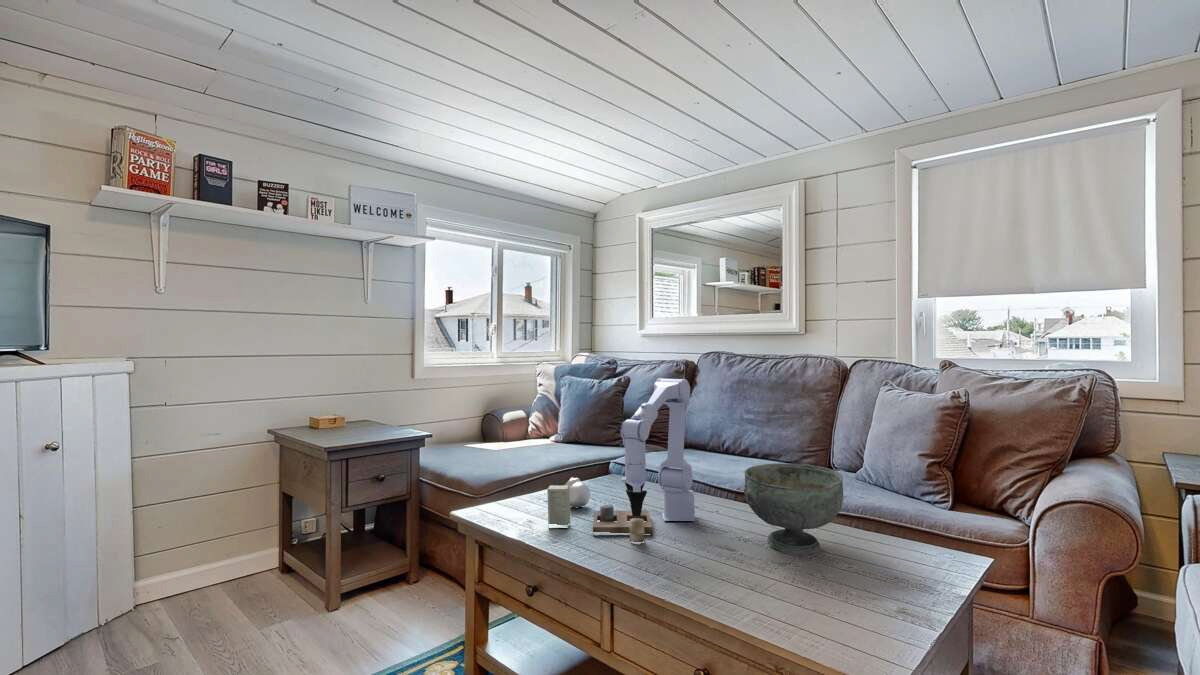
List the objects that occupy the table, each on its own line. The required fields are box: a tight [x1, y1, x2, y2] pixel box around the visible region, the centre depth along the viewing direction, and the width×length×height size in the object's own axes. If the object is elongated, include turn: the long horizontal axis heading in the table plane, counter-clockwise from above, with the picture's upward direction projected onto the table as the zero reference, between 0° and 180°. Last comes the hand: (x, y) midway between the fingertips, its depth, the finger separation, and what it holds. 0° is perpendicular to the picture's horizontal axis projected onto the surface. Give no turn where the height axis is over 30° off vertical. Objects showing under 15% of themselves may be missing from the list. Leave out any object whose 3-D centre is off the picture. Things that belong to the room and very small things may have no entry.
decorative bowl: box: [743, 462, 844, 556], centre depth 154 cm, size 26×26×20 cm
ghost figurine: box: [564, 477, 591, 508], centre depth 192 cm, size 9×10×10 cm
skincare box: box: [546, 484, 571, 525], centre depth 173 cm, size 6×4×12 cm
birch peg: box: [629, 518, 645, 542], centre depth 159 cm, size 4×4×6 cm
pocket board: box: [592, 504, 653, 535], centre depth 172 cm, size 17×16×6 cm
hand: (635, 511), depth 159 cm, fingers open, 7 cm apart
